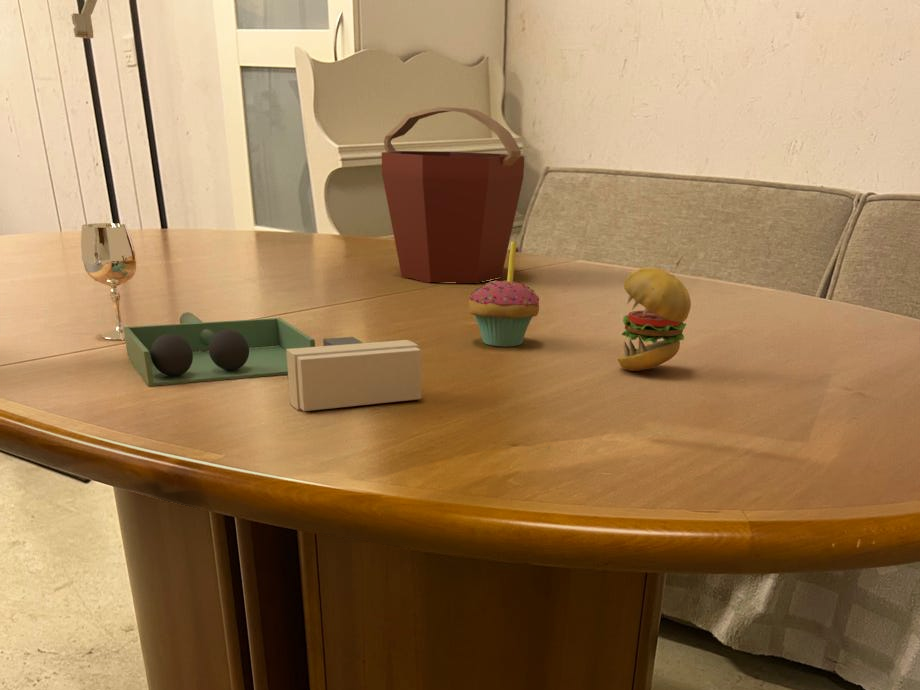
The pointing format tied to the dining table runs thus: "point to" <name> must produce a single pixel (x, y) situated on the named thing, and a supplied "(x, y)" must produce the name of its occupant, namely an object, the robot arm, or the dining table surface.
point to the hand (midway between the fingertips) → (28, 34)
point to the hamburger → (654, 317)
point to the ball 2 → (228, 349)
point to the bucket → (452, 205)
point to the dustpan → (198, 338)
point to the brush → (353, 373)
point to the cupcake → (504, 308)
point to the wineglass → (109, 261)
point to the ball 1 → (171, 355)
